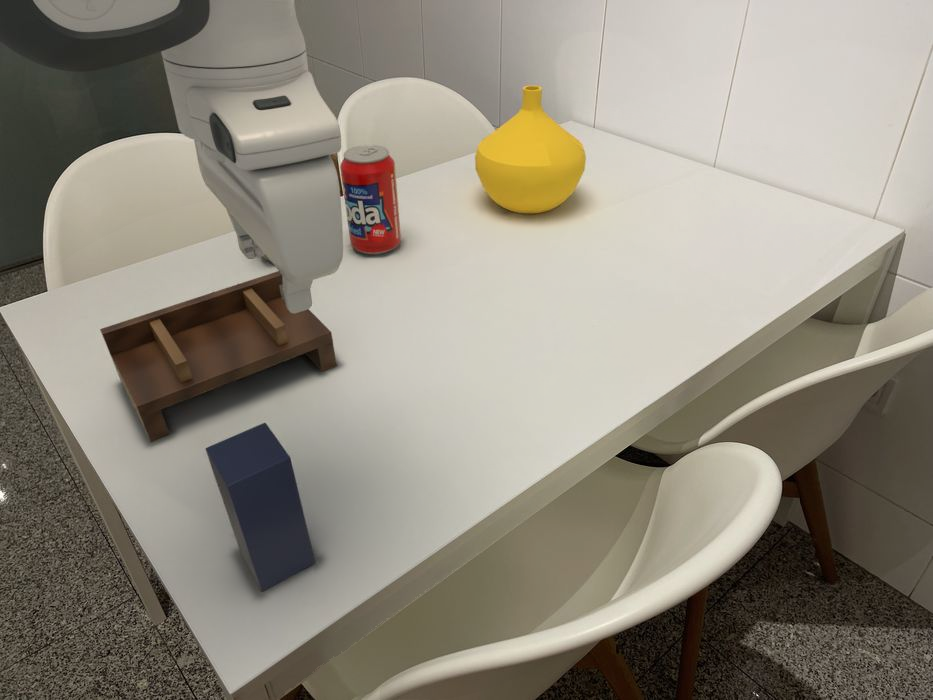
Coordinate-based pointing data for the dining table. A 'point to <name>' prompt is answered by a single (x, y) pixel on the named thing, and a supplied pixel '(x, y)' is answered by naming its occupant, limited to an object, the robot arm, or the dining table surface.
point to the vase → (530, 160)
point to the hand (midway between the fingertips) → (274, 279)
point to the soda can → (371, 199)
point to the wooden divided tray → (210, 345)
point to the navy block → (262, 504)
